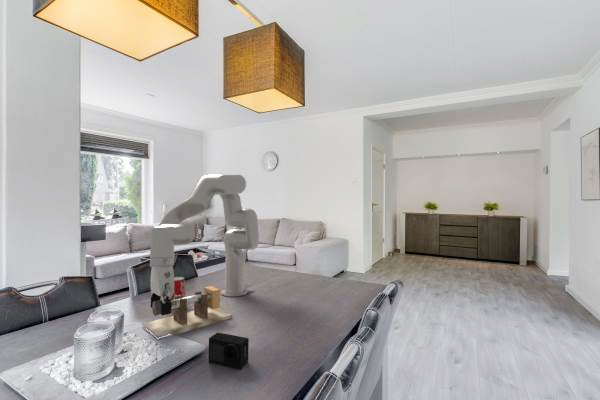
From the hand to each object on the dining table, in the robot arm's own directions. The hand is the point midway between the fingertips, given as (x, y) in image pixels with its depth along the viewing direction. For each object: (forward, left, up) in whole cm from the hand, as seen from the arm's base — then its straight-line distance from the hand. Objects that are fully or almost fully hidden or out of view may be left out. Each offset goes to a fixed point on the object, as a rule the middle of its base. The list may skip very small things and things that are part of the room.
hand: (160, 310), depth 104 cm
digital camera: (-5, +35, -7) cm, 36 cm away
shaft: (-10, 0, -1) cm, 10 cm away
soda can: (-14, -20, -7) cm, 25 cm away
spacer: (-20, 0, +1) cm, 20 cm away
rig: (-11, 0, -7) cm, 13 cm away
